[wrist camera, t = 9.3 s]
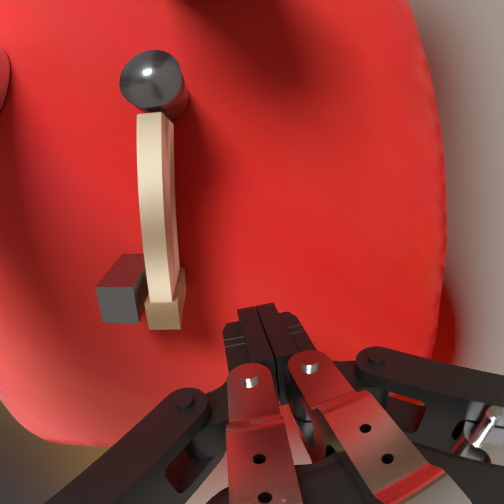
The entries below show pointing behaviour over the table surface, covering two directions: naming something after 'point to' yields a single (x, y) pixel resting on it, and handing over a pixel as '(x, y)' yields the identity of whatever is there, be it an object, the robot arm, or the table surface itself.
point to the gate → (159, 222)
